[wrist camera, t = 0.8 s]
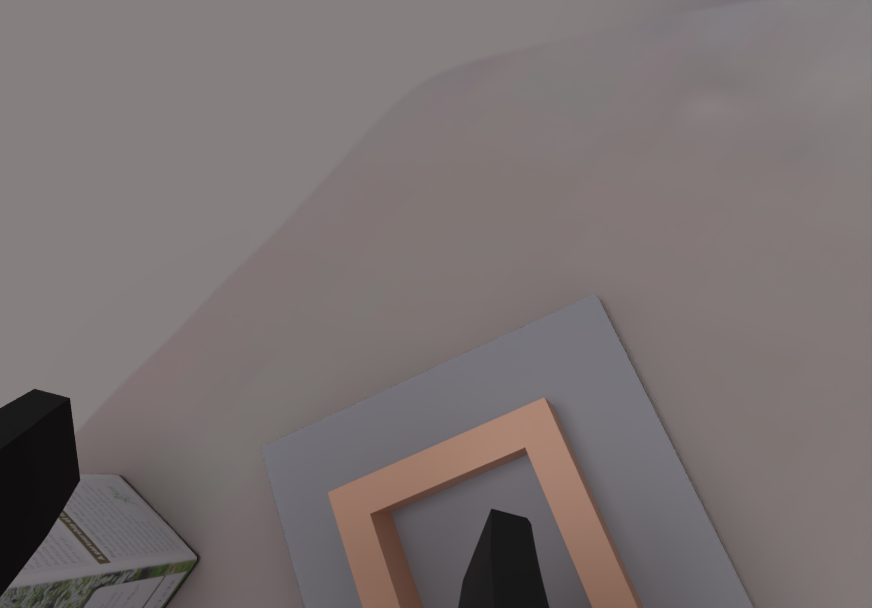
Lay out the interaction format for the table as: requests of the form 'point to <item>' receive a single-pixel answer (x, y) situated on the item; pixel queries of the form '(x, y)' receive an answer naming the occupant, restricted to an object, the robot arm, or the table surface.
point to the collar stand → (501, 481)
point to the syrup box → (103, 554)
